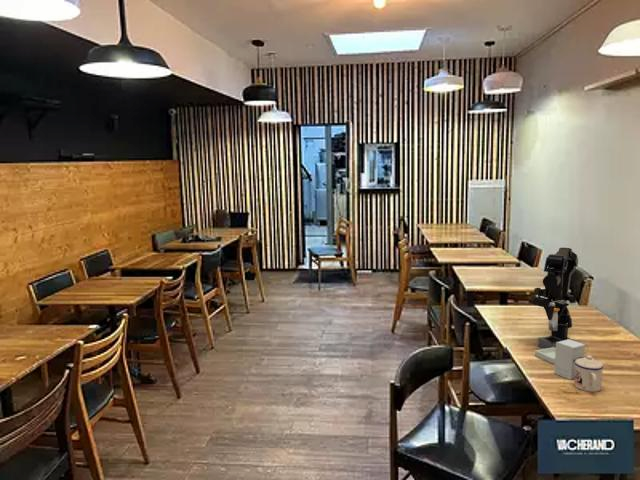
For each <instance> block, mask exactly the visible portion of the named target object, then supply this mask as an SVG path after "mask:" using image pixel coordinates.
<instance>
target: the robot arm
mask: <svg viewBox="0 0 640 480" xmlns="http://www.w3.org/2000/svg"><path fill="white" fill-rule="evenodd" d="M578 265H579V258H578V255H577V254H576V252H574V251H573V248H570V247H559V248H558V251H556V253H554V254H553V253H551V254H548V256H547V257H546V258H545V263H544V269H543V272H545V273H546V272H547V274H546V275H545V276H544V277H543V279H542V284H543V287H544V288H541V287H534V290H533V292H534V296H537V297H534V298H532V304H533V305H535V306H538V307H541V308H544V310H545V314H546V316H547V320H548V321H549V320H551V319H552V315H553V311H554V307H555V306H558V307H560V310H559V311H558V325H557V331H551V330H550V331H551V335H550V336H555V337H558V338H560V339H563V340H568V339H569V340H571V338H570V337H568V333H569V329H570V328H572V327H573V320H572V319H573V318H572V317H571V313H570V311H569V310H570V309H569V308H568V306H569V304H575V303H576V302H577V298H576V295H572V294H569V291H570V284H571V278H572V277H571V276H572V275H573V274H574V273H576V270H577V269H576V268H577V267H578ZM553 303H554V305H553Z"/></svg>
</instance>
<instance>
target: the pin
mask: <svg viewBox="0 0 640 480" xmlns="http://www.w3.org/2000/svg"><path fill="white" fill-rule="evenodd" d="M559 310H560V307H558V306H555V307H554V311H553V315H552V319H551V320H548V331H557V325H558V311H559Z"/></svg>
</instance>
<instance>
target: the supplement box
mask: <svg viewBox="0 0 640 480" xmlns="http://www.w3.org/2000/svg"><path fill="white" fill-rule="evenodd" d="M585 351H586V344H585V343H582V342H579V341H576V340H573V339H570V340H569V339H568V340H564V341H560V342H556V354H555V364H554V372H553V373H554V374H556V375H558V376H560V377H563V378H564V379H568V380H570V381H571V380H574V379H575V361H576V360H577V359H579V358H585V353H586V352H585Z"/></svg>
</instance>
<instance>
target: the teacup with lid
mask: <svg viewBox="0 0 640 480" xmlns="http://www.w3.org/2000/svg"><path fill="white" fill-rule="evenodd" d="M603 368H604V364H603V363H602V362H601V361H599V360H596V358H593V356H592V355H589V354H587V355H585V356H584V358H579V359H577V360H576V361H575V378H574V379H573V381H574V383H573V385H574V386H575V387H576V388H577V389H578V390H581V391H584V392H591V393H595V392H600V391H601V390H602V383H603V382H602V381H603Z"/></svg>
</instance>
